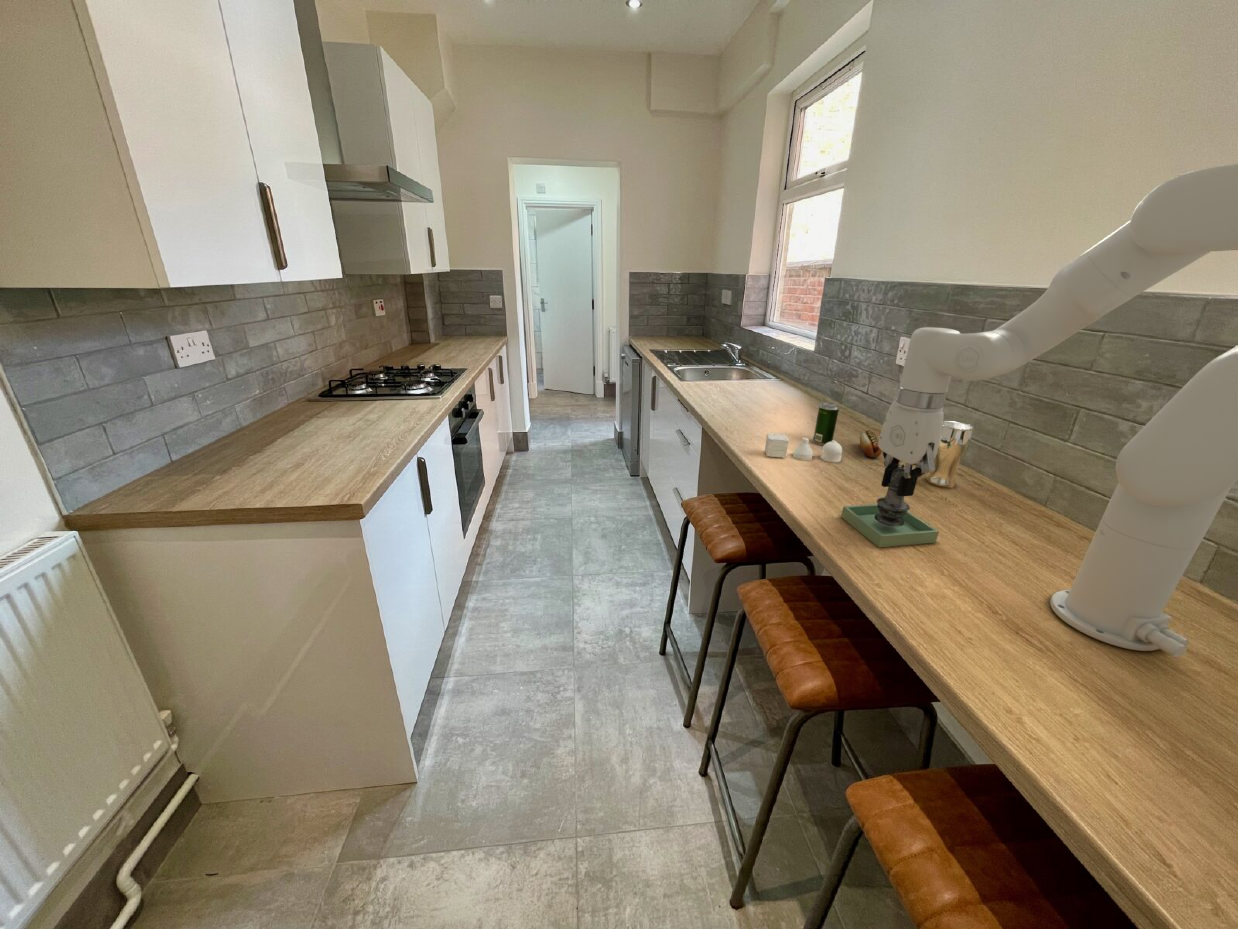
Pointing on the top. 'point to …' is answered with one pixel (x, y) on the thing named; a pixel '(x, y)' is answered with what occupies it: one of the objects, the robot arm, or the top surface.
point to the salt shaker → (892, 502)
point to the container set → (801, 449)
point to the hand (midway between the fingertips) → (896, 489)
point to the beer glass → (950, 453)
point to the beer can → (825, 423)
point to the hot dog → (870, 443)
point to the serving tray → (888, 527)
